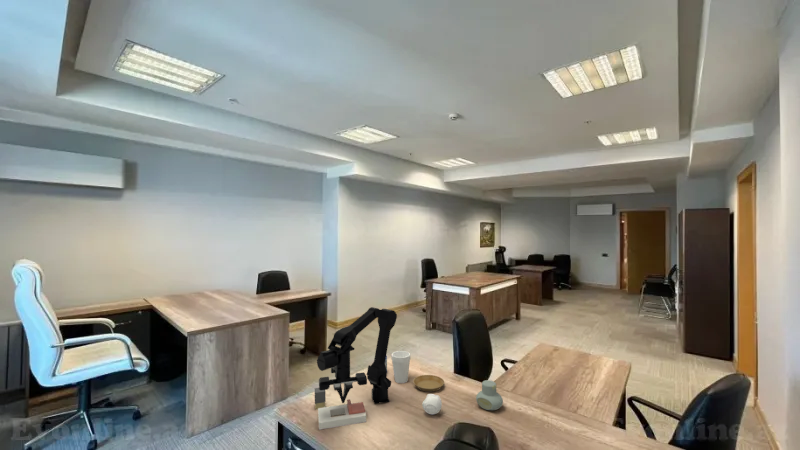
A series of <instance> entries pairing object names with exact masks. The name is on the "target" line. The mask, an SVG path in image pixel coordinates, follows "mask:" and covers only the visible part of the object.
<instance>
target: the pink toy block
mask: <svg viewBox="0 0 800 450" xmlns="http://www.w3.org/2000/svg"><path fill="white" fill-rule="evenodd" d="M359 402H360V403H358V402H352V401H351V399H350V398H349V399H347V400H346V404H347V407H348V412H349V414H356V413H362V412H365V413H366V408H365V405H364V401H359ZM351 403H353V404H351Z"/></svg>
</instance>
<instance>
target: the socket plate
mask: <svg viewBox="0 0 800 450" xmlns="http://www.w3.org/2000/svg"><path fill="white" fill-rule="evenodd" d="M360 402H361V401H359V402H357V403H360ZM353 403H354V402H351V404H353ZM317 420H318V430H325V429H331V428H338V427H343V426H345V427H346V426H350V425H354V424H355V425H356V424H362V423H366V422H367V413H366V412H362V413H356V414H349V412H348V407H347V403H346V404H345V403H343V404H339V405H331V406H325V407H324V408H318V409H317Z"/></svg>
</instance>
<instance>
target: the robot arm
mask: <svg viewBox="0 0 800 450" xmlns="http://www.w3.org/2000/svg"><path fill="white" fill-rule="evenodd" d="M397 317H398V315H397V313H396V311H395V310H392V309H387V308H382V309H379V308H377V307H374V306H372V307H369V308H368V310H366V311H365V312H364V313H363V314H361V316H360V317H358V318H357V319H356V320H355V321H353V322H352V323H351V324H350V325H348V326H344V327H342V328H340V329H338V330H337V331H335V332H334V333H333V338H332V339H331V341H330V342H329V345H328V347H327V350H324V351H319V355H318V357H317V360H316V365H317V368H318V369H319V371H321V372H323V371H326V370H330V373H331V374H334V377H335V378H333V379H332V378H331V379H330V377H329V376H324V377H323V376H322V377H319V379H318V388H319V390H325V391H326V390H327V391H328V390H329V389H330V386H333V390H334V391H337V393H338V395H339V399H340V401H341V403H342V404H345V401H346V399H347V396H348V394H349V393H350V391H351V389H354V388H353V386H354V385H353V383H356V382H357V385H358V386H365V385H366V386H367V384H368V382H369V384H370V385H371V386H372V388H371V400H372V401H373V403H374V404H375V405H376V404H384V403H388V402H390V399H389V388H391V386H392V381H391V379H390V378H388V377H387V376H388V375H387V374H388V369H387V370H386V366H385V360H386V356H387V354H388V348H389V341H390V336H391V330H392V329H393V328H394V327H395V324H396V322H397ZM375 320H377V324H378V327H379V331H378V336H377V342H376V349H375V352H374V353H375V354H374V360H373V363H372V364H371V365H368V366H367V371H366V373H365V372H358V373H357V372H356V373H355V376H351V351H354V350H355V347H353V346H352V345H353V343H354V342H355V340H356V339H357V336H358V335H359V334H360V333H361V332H362V331H363V330H364V329H365V328H367V327H368V325H370V324H371V323H372V322H374V321H375ZM342 385H343V388H342Z"/></svg>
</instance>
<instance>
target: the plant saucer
mask: <svg viewBox="0 0 800 450" xmlns="http://www.w3.org/2000/svg"><path fill="white" fill-rule="evenodd" d="M412 382H413V384H414V386H415V387H416V388H417V389H419V390H420V391H423V392H428V393H429V392H437V391H439V390H440V389H441V388H442V387H443V386H444V384H445V380H444V379H443V378H442V377H440V376H437V375H433V374H432V375H431V374H424V375H423V374H422V375H419V376H416V377H415V378H414V379H413V381H412Z"/></svg>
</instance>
